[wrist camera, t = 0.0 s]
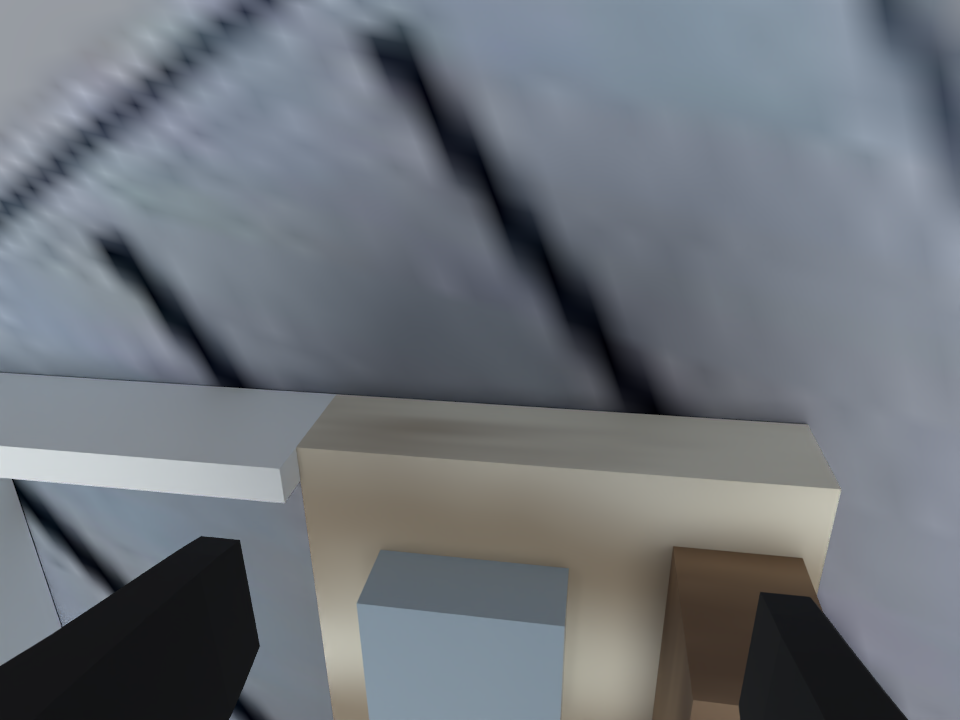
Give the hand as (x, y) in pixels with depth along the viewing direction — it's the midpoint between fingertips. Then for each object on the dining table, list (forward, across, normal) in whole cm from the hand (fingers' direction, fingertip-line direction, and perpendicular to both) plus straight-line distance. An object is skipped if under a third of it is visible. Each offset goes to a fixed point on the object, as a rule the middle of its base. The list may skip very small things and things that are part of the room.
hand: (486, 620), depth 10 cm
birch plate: (+10, 0, +12) cm, 16 cm away
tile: (+7, +2, +8) cm, 10 cm away
